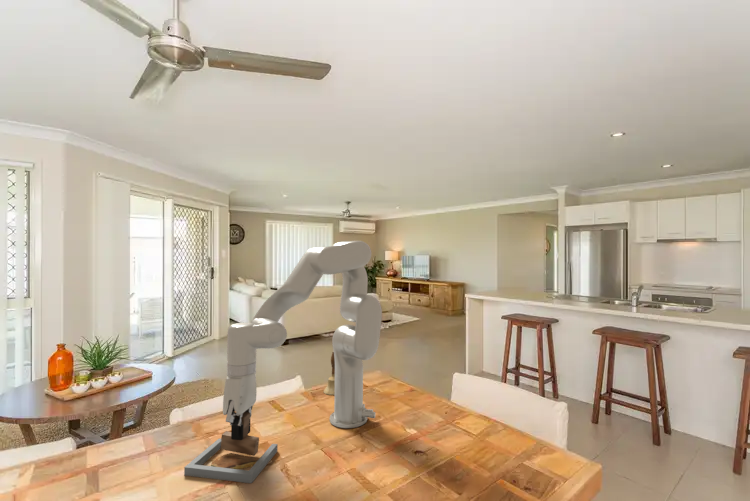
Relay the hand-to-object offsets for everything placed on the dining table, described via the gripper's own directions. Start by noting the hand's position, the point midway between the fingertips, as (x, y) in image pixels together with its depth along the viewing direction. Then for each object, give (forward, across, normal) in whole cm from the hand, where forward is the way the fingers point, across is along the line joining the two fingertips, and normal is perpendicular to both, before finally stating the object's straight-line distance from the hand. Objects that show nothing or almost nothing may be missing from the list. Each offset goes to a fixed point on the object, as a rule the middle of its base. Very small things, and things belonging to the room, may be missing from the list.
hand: (240, 435), depth 98 cm
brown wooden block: (+4, 0, 0) cm, 4 cm away
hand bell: (+6, -50, +12) cm, 52 cm away
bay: (+6, +4, 0) cm, 7 cm away
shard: (+6, +3, 0) cm, 7 cm away
